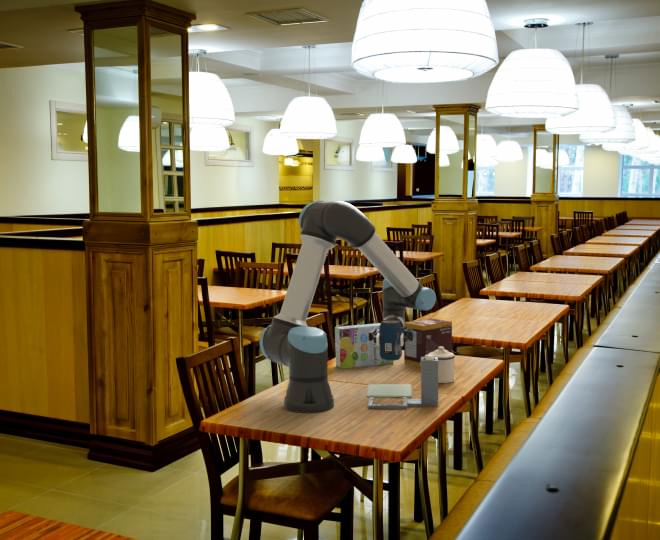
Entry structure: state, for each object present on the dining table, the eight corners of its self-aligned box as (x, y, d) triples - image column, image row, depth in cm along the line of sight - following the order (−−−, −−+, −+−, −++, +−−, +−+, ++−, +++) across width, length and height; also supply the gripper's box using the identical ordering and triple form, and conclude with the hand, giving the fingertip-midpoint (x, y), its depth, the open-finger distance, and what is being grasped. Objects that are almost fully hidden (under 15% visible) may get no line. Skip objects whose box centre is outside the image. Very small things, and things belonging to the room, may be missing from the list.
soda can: (382, 355, 243) (382, 318, 241) (404, 356, 240) (403, 319, 239) (377, 360, 236) (376, 322, 235) (399, 361, 234) (398, 323, 233)
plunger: (425, 374, 230) (424, 354, 230) (433, 374, 230) (433, 354, 229) (425, 376, 228) (425, 356, 227) (433, 376, 227) (433, 356, 227)
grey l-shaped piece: (370, 400, 235) (369, 355, 234) (437, 401, 233) (437, 356, 232) (368, 408, 226) (367, 362, 225) (438, 409, 224) (438, 363, 222)
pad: (368, 385, 253) (368, 384, 253) (411, 386, 251) (411, 384, 251) (366, 397, 239) (366, 395, 239) (411, 397, 237) (411, 395, 237)
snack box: (388, 361, 289) (387, 322, 287) (393, 364, 284) (393, 324, 282) (335, 366, 282) (334, 326, 281) (340, 369, 277) (339, 328, 276)
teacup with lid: (458, 379, 260) (458, 345, 258) (449, 385, 252) (449, 350, 250) (425, 375, 265) (425, 342, 264) (415, 381, 257) (415, 347, 256)
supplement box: (452, 361, 286) (452, 320, 284) (423, 368, 277) (423, 325, 275) (433, 357, 294) (432, 317, 292) (403, 363, 285) (403, 322, 283)
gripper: (422, 338, 254) (422, 353, 232) (363, 338, 257) (357, 353, 234) (422, 316, 254) (421, 329, 231) (363, 316, 256) (357, 329, 233)
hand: (389, 341), depth 233 cm, fingers closed on soda can, 7 cm apart
